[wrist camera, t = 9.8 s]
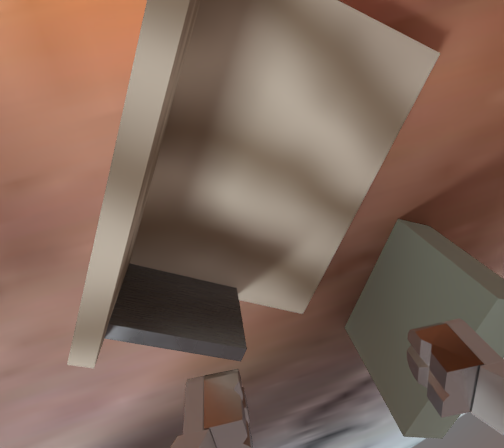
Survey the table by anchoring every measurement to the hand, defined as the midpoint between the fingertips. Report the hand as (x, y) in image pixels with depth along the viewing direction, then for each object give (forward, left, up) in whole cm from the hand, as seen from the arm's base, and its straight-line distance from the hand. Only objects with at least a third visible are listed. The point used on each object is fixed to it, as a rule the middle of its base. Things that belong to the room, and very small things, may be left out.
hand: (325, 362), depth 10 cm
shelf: (+2, 0, -15) cm, 15 cm away
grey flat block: (-4, -14, -15) cm, 21 cm away
